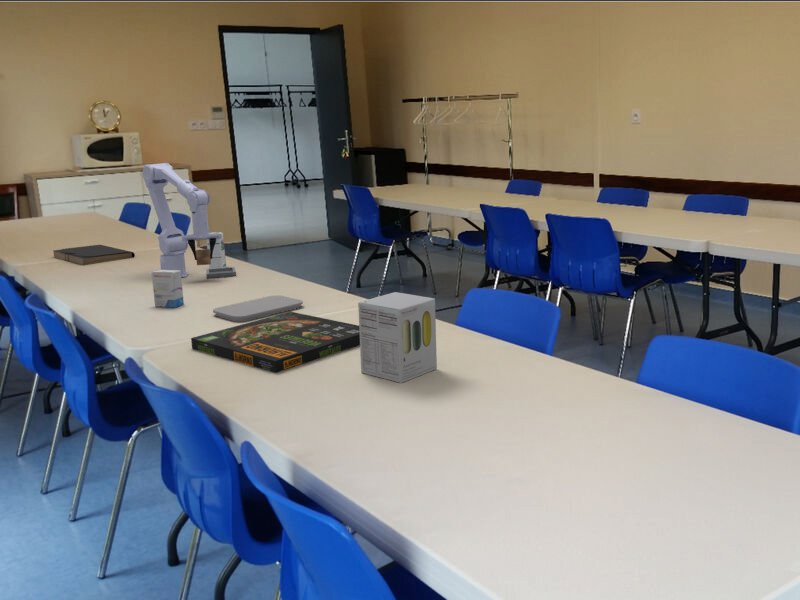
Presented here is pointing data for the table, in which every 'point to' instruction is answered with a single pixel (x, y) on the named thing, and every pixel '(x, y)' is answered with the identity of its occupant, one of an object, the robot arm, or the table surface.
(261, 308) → the tablet
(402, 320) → the supplement box
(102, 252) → the file folder
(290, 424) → the table surface
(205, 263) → the walnut cube
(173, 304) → the ink box
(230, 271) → the grey dish
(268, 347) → the pizza box
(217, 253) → the syrup box
